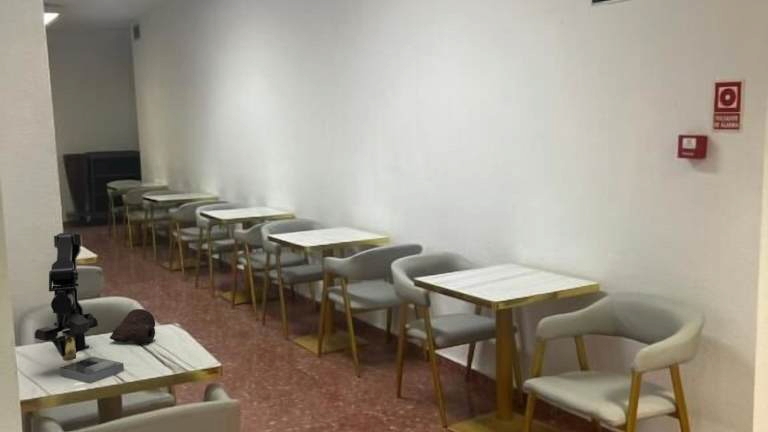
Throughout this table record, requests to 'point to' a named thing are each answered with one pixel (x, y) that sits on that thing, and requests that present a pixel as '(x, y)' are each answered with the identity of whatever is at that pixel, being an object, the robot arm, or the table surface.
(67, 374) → the metal square frame
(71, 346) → the tan rectangular block
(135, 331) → the dark brown rounded lump
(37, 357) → the table surface
